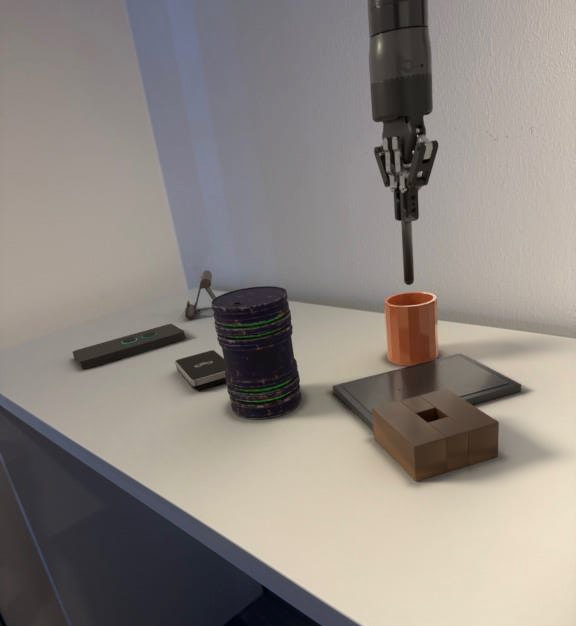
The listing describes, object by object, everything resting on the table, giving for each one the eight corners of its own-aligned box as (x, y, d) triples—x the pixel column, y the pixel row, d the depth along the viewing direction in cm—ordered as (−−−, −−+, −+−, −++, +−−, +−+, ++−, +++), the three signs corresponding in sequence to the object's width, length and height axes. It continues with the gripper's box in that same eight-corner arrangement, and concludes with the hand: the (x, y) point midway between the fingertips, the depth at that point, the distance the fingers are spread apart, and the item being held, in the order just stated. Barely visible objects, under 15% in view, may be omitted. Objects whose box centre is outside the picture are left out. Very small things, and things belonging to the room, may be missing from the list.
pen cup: (421, 344, 86) (419, 288, 82) (447, 358, 79) (446, 299, 76) (379, 354, 84) (375, 298, 81) (402, 370, 78) (399, 310, 74)
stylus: (411, 282, 78) (406, 180, 73) (416, 284, 77) (412, 180, 71) (402, 284, 78) (397, 182, 72) (407, 286, 77) (402, 182, 71)
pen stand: (446, 418, 63) (446, 388, 62) (498, 456, 55) (499, 422, 53) (373, 439, 61) (371, 408, 60) (415, 482, 53) (414, 447, 51)
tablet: (460, 359, 79) (460, 352, 78) (521, 391, 67) (521, 383, 67) (333, 392, 74) (332, 385, 74) (374, 433, 63) (373, 424, 62)
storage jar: (254, 384, 80) (237, 286, 74) (314, 390, 76) (301, 285, 70) (216, 415, 72) (194, 308, 66) (280, 423, 68) (262, 309, 62)
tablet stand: (188, 309, 125) (181, 274, 121) (222, 304, 125) (215, 268, 122) (186, 320, 117) (178, 282, 113) (222, 315, 117) (215, 277, 114)
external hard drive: (215, 360, 92) (213, 349, 91) (238, 380, 82) (236, 368, 82) (176, 371, 89) (173, 360, 89) (194, 393, 80) (192, 381, 79)
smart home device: (185, 330, 104) (80, 361, 96) (186, 339, 105) (82, 370, 96) (170, 322, 111) (71, 350, 102) (172, 330, 112) (74, 358, 103)
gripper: (458, 63, 62) (459, 219, 69) (401, 81, 74) (406, 212, 81) (399, 70, 60) (406, 230, 67) (350, 87, 72) (360, 221, 79)
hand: (406, 219), depth 74 cm, fingers closed on stylus, 1 cm apart
